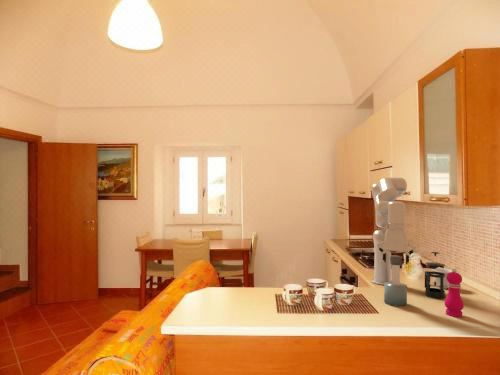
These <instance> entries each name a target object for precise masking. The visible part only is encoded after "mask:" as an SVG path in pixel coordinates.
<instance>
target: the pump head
mask: <svg viewBox="0 0 500 375" xmlns="http://www.w3.org/2000/svg"><path fill="white" fill-rule="evenodd" d="M390 264H391V265H392V264H394V265H400V266H401V265H402V256H400V255H396V254H394V255H391V256H390Z"/></svg>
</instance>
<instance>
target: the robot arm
mask: <svg viewBox="0 0 500 375" xmlns="http://www.w3.org/2000/svg"><path fill="white" fill-rule="evenodd" d="M407 187H408V184H407V181H406V180H405V179H404V178H403V177H383V178H381V179H380V180H379V182H377V183H374V184H372V186H371V196H372V199H373V201H374V209H375V225H376V226H377V227H378V228H383V229H378V230H375V231H374V232H373V233H372V239H373V240H372V241H373V246H374V247H373V248H374V251H373V252H374V260H373V261H374V267H373V272H374V273H373V277H374V278H371V280H370V281H371V283H372V284H376V285H381V286H384V283H385V282H392V264H390V256H392V252H401V253H402V252H403V253H404V254H405V264H406V265H409V264H408V263H410V256H411V255H413V253H414V252H415V251H416V248H417V246H415V245H414V244H412V243H410V242H409V241H408V234H407V233H408V232H407V230H405V229H406V228H405V227H406V225H405V224H406V223H405V221H406V220H405V216H406V215H405V214H406V210H407V208H406V207H407V206H406V204H405V203H404V202H403V201H396V200H397V198H401V197H403V195H404V194H405V193H406V191H407ZM384 228H385V229H384ZM409 248H411V249H410V250H409V251H408V249H409Z"/></svg>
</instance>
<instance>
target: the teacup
mask: <svg viewBox="0 0 500 375" xmlns="http://www.w3.org/2000/svg"><path fill="white" fill-rule="evenodd" d="M430 270H432V271H431V272H435V269H430ZM436 272H440V273H444V274H445V277H444V278H443V284H444V287H443V290H444V289H445V290H447V288H448V289H449V287H448V283H449V282H448V281H447V279H446V276H447V274H448V273H450V272H452V269H449V268H444V269H443V268H440V267H438V268H436ZM433 275H435V274H433ZM436 275H437V274H436ZM433 282H435V277H433ZM436 283H440V278H436ZM438 289H440V287H438Z"/></svg>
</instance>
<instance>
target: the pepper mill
mask: <svg viewBox="0 0 500 375" xmlns="http://www.w3.org/2000/svg"><path fill="white" fill-rule="evenodd" d="M451 270H452V272H450V273H448V274H447V276H446V279H447V281H448V282H449V283H448V287H449V288H448V291H447V292H448V293H447V295H446V296H445V298H444V306H445V307H446V309H445V314H446V315H447V316H449V317H455V318H462V317H463V311H462V310H463V309H464V306H465V303H464V301H463V299H462V297H461V292H460V289H461V288H462V287H461V286H462V284H461V283H462V282H463V277H462V275H461V274H460V273H458V272H457V269H456V268H452V269H451Z"/></svg>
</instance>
